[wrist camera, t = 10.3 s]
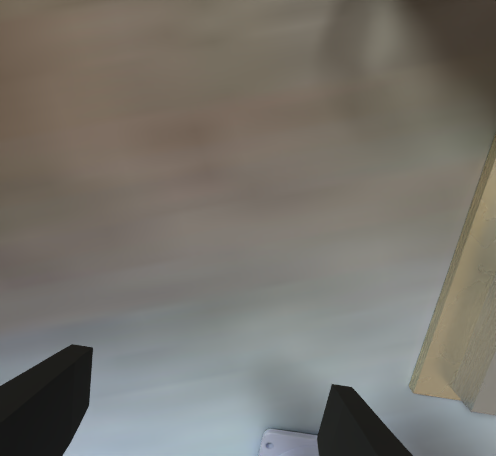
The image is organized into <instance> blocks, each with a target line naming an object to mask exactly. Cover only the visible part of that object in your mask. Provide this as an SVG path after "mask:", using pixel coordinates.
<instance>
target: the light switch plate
mask: <svg viewBox="0 0 496 456" xmlns="http://www.w3.org/2000/svg"><path fill="white" fill-rule="evenodd" d="M409 387H410V389H411V390H412V392H413V393H415V394H422V395H428V396H435V397H441V398H448V399H454V400H461V401H463V403H464V404H465V405H466V406H467V407H468V408H469V410H470V411H471V412H478V413H484V414H491V415H496V134H495V137H494V140H493V143H492V146H491V149H490V152H489V154H488V157H487V160H486V163H485V166H484V169H483V172H482V175H481V178H480V181H479V183H478V186H477V189H476V192H475V195H474V198H473V201H472V204H471V207H470V210H469V213H468V215H467V218H466V221H465V224H464V227H463V230H462V233H461V236H460V239H459V242H458V244H457V247H456V250H455V253H454V256H453V259H452V262H451V265H450V268H449V271H448V274H447V276H446V279H445V282H444V285H443V288H442V291H441V294H440V297H439V300H438V303H437V305H436V308H435V311H434V314H433V317H432V320H431V323H430V326H429V329H428V332H427V335H426V337H425V340H424V343H423V346H422V349H421V352H420V355H419V358H418V361H417V364H416V366H415V369H414V372H413V375H412V378H411V381H410V384H409Z"/></svg>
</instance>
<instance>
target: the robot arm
mask: <svg viewBox="0 0 496 456" xmlns="http://www.w3.org/2000/svg"><path fill="white" fill-rule="evenodd" d="M92 353H93V348H92V347H86V346H79V345H73V344H72V345H70V346H68V347H66V348H65V349H63V350H61V351H59V352H58V353H56V354H54V355H53V356H51V357H49V358H48V359H46V360H44V361H43V362H41V363H39V364H37V365H36V366H34V367H32V368H31V369H29V370H27V371H25V372H24V373H22V374H20V375H19V376H17V377H15V378H13V379H12V380H10V381H8V382H6V383H5V384H3V385H1V386H0V456H62V455H63V454H64V452H65V451H66V449H67V447H68V446H69V444H70V443H71V441H72V439H73V437H74V435H75V433H76V431H77V429H78V427H79V425H80V423H81V421H82V419H83V417H84V415H85V413H86V411H87V409H88V406H89V398H90V383H91V368H92ZM268 443H271V444H268ZM258 456H413V455H412V454H411V453H410V452H409V451H408V450H407V449H406V448H405V447H404V446H403V444H402V443H401V442H400V441H399V440H398V439H397V438H396V437H395V436H394V434H393V433H392V432H391V431H390V430H389V429H388V428H387V426H386V425H385V424H384V423H383V422H382V421H381V420H380V418H379V417H378V416H377V415H376V414H375V413H374V412H373V410H372V409H371V408H370V407H369V406H368V405H367V403H366V402H365V401H364V400H363V399H362V398H361V397H360V396H359V394H358V393H357V392H356V391H355V390H354V389H353V388H352V387H348V386H341V385H334V384H332V386H331V390H330V393H329V397H328V401H327V404H326V408H325V411H324V415H323V419H322V422H321V426H320V429H319V433H318V435H311V434H304V433H297V432H291V431H284V430H277V429H267V430H266V431H264V433H263V437H262V441H261V446H260V450H259V455H258Z"/></svg>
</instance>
